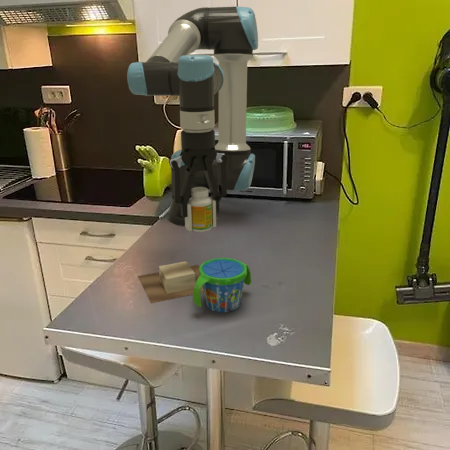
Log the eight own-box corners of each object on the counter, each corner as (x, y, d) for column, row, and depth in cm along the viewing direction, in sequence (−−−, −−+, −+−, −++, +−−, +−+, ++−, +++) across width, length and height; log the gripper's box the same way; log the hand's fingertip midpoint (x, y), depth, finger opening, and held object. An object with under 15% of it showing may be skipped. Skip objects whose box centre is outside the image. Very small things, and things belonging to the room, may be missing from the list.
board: (138, 280, 122) (137, 276, 122) (198, 268, 128) (197, 264, 127) (151, 307, 110) (151, 303, 110) (216, 293, 116) (216, 289, 115)
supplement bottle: (209, 233, 112) (208, 193, 109) (187, 232, 113) (185, 192, 110) (214, 224, 117) (213, 186, 114) (192, 223, 118) (191, 185, 114)
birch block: (159, 280, 120) (158, 266, 118) (186, 275, 122) (186, 261, 120) (167, 294, 114) (166, 278, 112) (195, 288, 116) (195, 273, 114)
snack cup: (237, 288, 118) (237, 250, 114) (264, 306, 110) (265, 266, 106) (182, 308, 110) (180, 268, 106) (207, 330, 102) (206, 287, 98)
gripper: (162, 136, 100) (168, 239, 109) (242, 128, 107) (242, 226, 115) (152, 130, 106) (158, 227, 115) (228, 123, 113) (229, 216, 122)
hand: (200, 226), depth 115 cm, fingers closed on supplement bottle, 5 cm apart
